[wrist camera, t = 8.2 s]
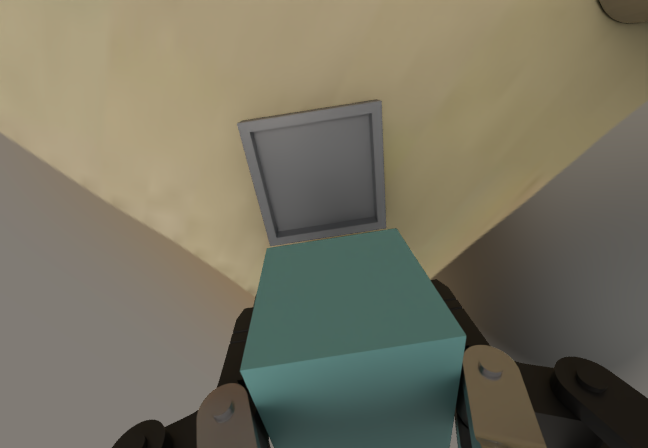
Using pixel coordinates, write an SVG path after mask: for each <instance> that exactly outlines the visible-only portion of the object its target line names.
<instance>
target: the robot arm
mask: <svg viewBox="0 0 648 448" xmlns="http://www.w3.org/2000/svg"><path fill="white" fill-rule="evenodd" d="M599 1H600V3H601V5H602V7H603V9H604V11H605V12H606V13H607V14H608V15H609V16H610V17H611V18H612V19H615V20H617V21H619V22H621V23H632V24H633V23H639V22H644V21H648V0H599ZM430 281H431V282H432V284H433V285H434V287H435V288H436V290H437V291H438V293H439V294H440V296H441V297H442V299H443V301H444V302H445V304H446V305H447V307H448V308H449V310H450V311H451V313H452V314H453V316H454V317H455V319H456V320H457V322H458V324H459V325H460V327H461V328H462V330H463V331H464V333H465V334H466V342H465V349H464V356H463V362H462V369H461V375H460V382H459V389H458V395H457V402H456V408H455V415H454V417H455V425H456V434H457V443H458V448H648V398H646V397H645V396H644V395H642V394H641V393H639V392H638V391H637V390H635V389H634V388H632V387H631V386H630V385H628V384H627V383H626V382H624V381H623V380H621V379H620V378H619V377H617V376H616V375H615V374H613V373H612V372H610V371H609V370H607V369H606V368H604V367H603V366H601V365H599V364H597V363H595V362H592V361H590V360H587V359H583V358H578V357H564V358H561V359H560V360H558V361H557V362H556V364H555V367H554V368H550V367H543V366H536V365H529V364H523V363H519V362H516V361H513V360H512V358H510V357H509V356H508V355H507V354H505V353H504V352H502V351H501V350H499V349H497V348H494V347H491V346H490V345H489V343H488V342H487V341H486V339H485V338H484V337H483V335H482V334H481V332H480V331H479V330H478V328H477V327H476V326H475V324H474V323H473V321H472V320H471V319H470V317H469V316H468V314H467V313H466V312H465V310H464V309H462V306H461V305H460V303H459V302H458V300H456V298H455V296H454V295H453V293H452V292H451V291H450V289H449V288H448V287H447V286H445V285H444V284H442V283H441V282H440V281H438V280H437V279H435V280H430ZM256 296H257V294H256ZM255 300H256V297H255ZM254 305H255V302H254ZM253 309H254V307H252V308H246V309H244V310H243V312H242V313H241V314H240V316H239V317H238V318H237V320H236V323H235V327H234V330H233V334H232V337H231V341H230V345H229V348H228V351H227V355H226V359H225V362H224V365H223V369H222V373H221V376H220V380H219V383H218V386H217V388H216V389H215V390H213V391H212V392H211V393H210V394H209V395H208V396H207V397H206V398H205V400H204V401H203V402H202V404H201V406H200V408H199V410H197V411H196V412H195V413H193V414H191V415H189V416H187V417H185V418H183V419H181V420H179V421H177V422H175V423H173V424H170V425H168V426H166V427H164V426H163V425H162V423H161V422H159V421H157V420H146V421H143V422H141V423H139V424H137V425H135V426H134V427H132V428H131V429H129V430H128V431H127V432H126V433H125V434H123V435H122V436H121V438H120V439H118V441H117V442H116V443H115V444H114V446H113V447H112V448H271V447H270V443H269V435H268V433H267V431H266V428H265V426H264V424H263V422H262V419H261V417H260V415H259V413H258V410H257V408H256V406H255V404H254V401H253V399H252V397H251V395H250V392H249V390H248V388H247V386H246V383H245V381H244V379H243V377H242V374H241V372H240V368H241V364H242V359H243V354H244V350H245V345H246V341H247V336H248V332H249V327H250V323H251V318H252V314H253Z"/></svg>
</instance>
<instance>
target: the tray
mask: <svg viewBox="0 0 648 448" xmlns="http://www.w3.org/2000/svg"><path fill="white" fill-rule="evenodd" d="M237 126H238V129H239V133H240V137H241V140H242V144H243V148H244V151H245V155H246V159H247V162H248V166H249V170H250V173H251V177H252V181H253V184H254V188H255V192H256V195H257V199H258V203H259V206H260V210H261V214H262V217H263V221H264V225H265V228H266V232H267V236H268V239H269V243H270V246H275V245H281V244H287V243H294V242H300V241H307V240H313V239H320V238H326V237H332V236H339V235H345V234H352V233H358V232H365V231H371V230H377V229H384V228H386V210H385V183H384V157H383V130H382V104H381V101H380V100H371V101H364V102H358V103H352V104H345V105H339V106H332V107H326V108H320V109H313V110H307V111H301V112H294V113H288V114H282V115H275V116H269V117H262V118H256V119H250V120H243V121H240V122H239V123H237Z"/></svg>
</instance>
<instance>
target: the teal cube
mask: <svg viewBox="0 0 648 448" xmlns="http://www.w3.org/2000/svg"><path fill="white" fill-rule="evenodd" d="M465 342H466V334H465V333H464V331H463V330H462V328H461V327H460V325H459V324H458V322H457V320H456V319H455V317H454V316H453V314H452V313H451V311H450V310H449V308H448V307H447V305H446V304H445V302H444V301H443V299H442V297H441V296H440V294H439V293H438V291H437V290H436V288H435V287H434V285H433V284H432V282H431V281H430V279H429V278H428V276H427V274H426V273H425V271H424V270H423V268H422V267H421V265H420V264H419V262H418V261H417V259H416V258H415V256H414V255H413V253H412V251H411V250H410V248H409V247H408V245H407V244H406V242H405V241H404V239H403V238H402V236H401V235H400V233H399V232H398V230H397V229H396V228H395V229H388V230H382V231H375V232H369V233H363V234H356V235H350V236H343V237H337V238H330V239H324V240H318V241H311V242H305V243H298V244H292V245H285V246H279V247H272V248H267V250H266V255H265V259H264V264H263V268H262V273H261V277H260V282H259V286H258V291H257V296H256V300H255V305H254V309H253V314H252V318H251V323H250V327H249V332H248V336H247V341H246V345H245V350H244V354H243V359H242V364H241V368H240V372H241V374H242V377H243V379H244V381H245V383H246V386H247V388H248V390H249V392H250V395H251V397H252V399H253V401H254V404H255V406H256V408H257V410H258V413H259V415H260V417H261V419H262V422H263V424H264V426H265V428H266V431H267V433H268V435H269V437H270V439H271V442H272V444H273V446H274V448H449V447H450V441H451V435H452V428H453V422H454V415H455V408H456V402H457V395H458V389H459V382H460V375H461V369H462V362H463V356H464V349H465Z"/></svg>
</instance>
